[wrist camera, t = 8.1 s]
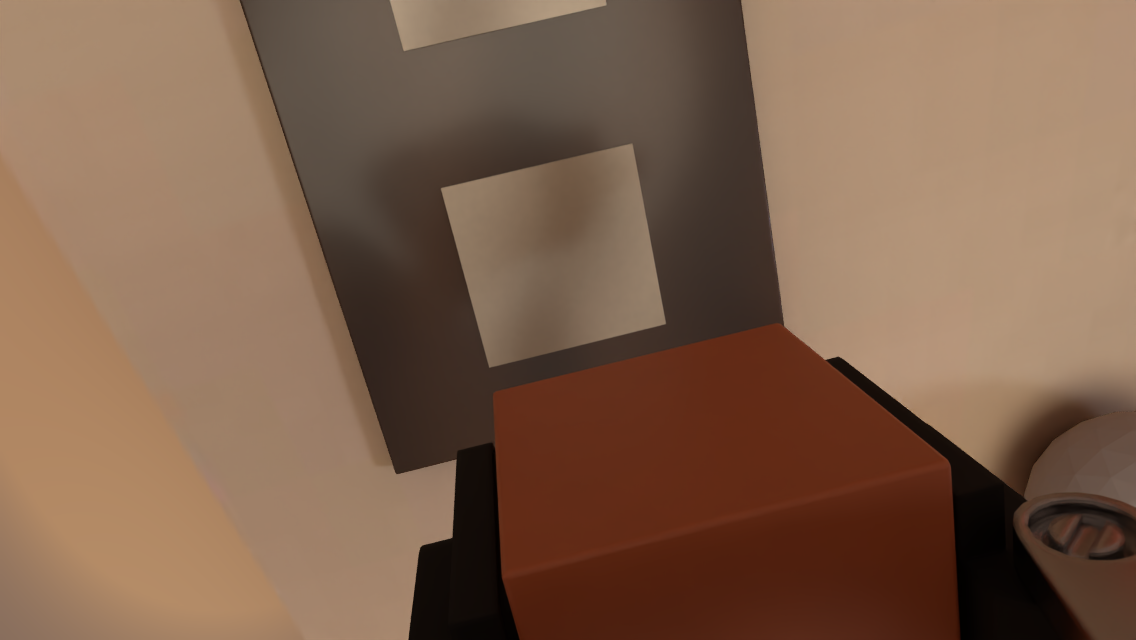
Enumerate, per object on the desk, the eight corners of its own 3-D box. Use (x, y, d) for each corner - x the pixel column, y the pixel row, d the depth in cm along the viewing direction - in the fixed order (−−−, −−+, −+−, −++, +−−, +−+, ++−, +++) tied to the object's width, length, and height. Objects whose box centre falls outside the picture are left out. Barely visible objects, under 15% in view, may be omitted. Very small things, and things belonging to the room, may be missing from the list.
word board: (397, 466, 26) (395, 476, 26) (152, -279, 19) (141, -291, 19) (784, 369, 27) (792, 376, 26) (682, -388, 20) (689, -403, 19)
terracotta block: (555, 629, 13) (594, 902, 8) (491, 390, 11) (500, 576, 7) (811, 563, 13) (971, 797, 9) (779, 320, 11) (953, 459, 7)
